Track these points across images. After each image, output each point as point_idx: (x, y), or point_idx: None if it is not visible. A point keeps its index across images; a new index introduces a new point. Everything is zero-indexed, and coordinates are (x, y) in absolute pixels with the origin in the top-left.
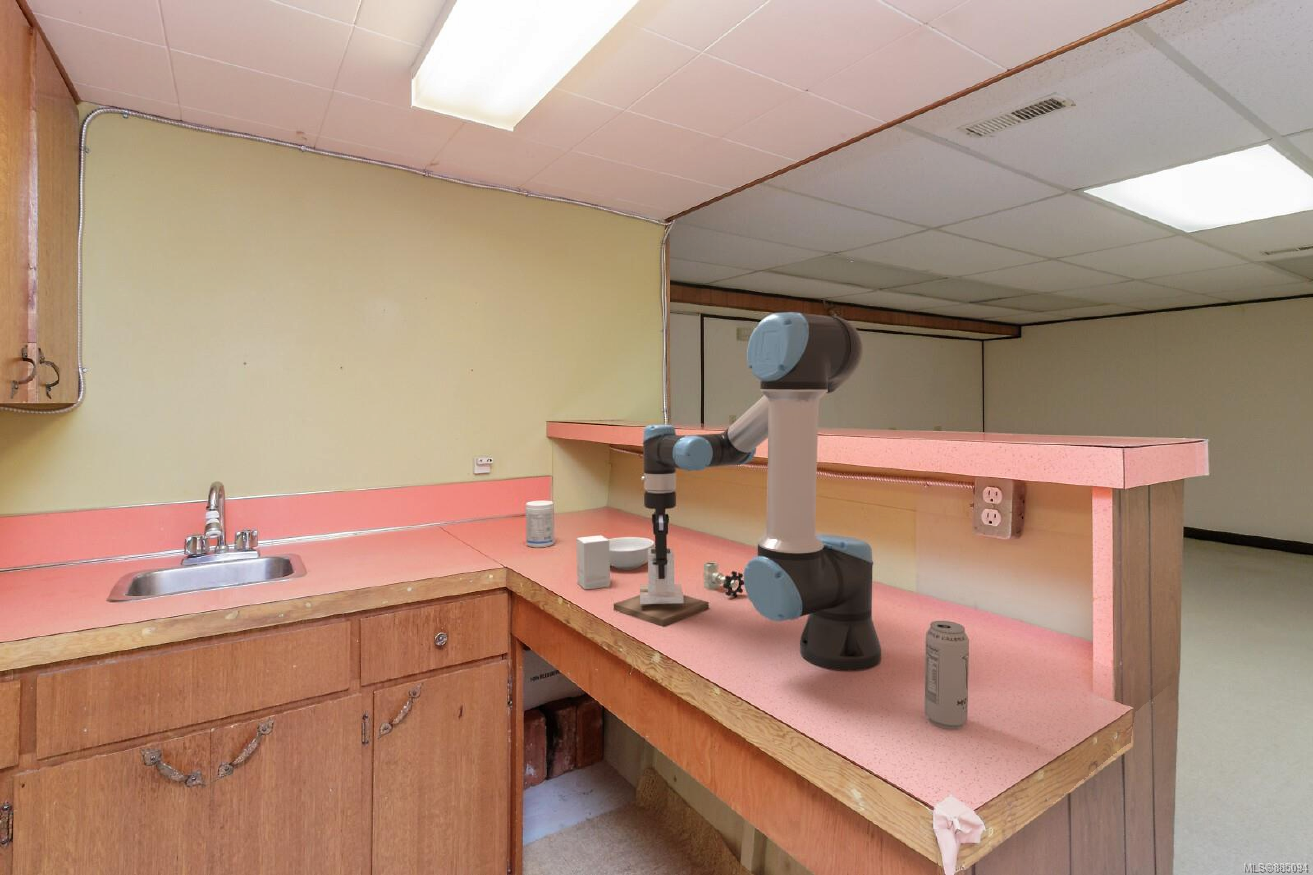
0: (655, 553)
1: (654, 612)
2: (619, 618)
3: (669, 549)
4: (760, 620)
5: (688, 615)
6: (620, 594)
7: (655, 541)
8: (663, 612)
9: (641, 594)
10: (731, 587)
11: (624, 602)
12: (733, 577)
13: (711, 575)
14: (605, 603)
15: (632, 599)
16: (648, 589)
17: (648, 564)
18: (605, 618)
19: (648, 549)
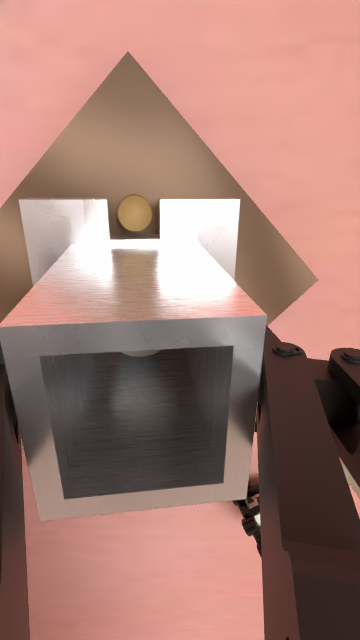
0: (222, 361)
1: (16, 259)
2: (15, 94)
3: (223, 476)
4: (46, 531)
5: None
6: (343, 96)
7: (272, 429)
8: (20, 294)
9: (73, 207)
10: (254, 499)
11: (146, 115)
12: (254, 537)
13: (342, 465)
14: (227, 10)
15: (189, 157)
16: (89, 248)
17: (29, 295)
18: (7, 13)
19: (220, 322)
